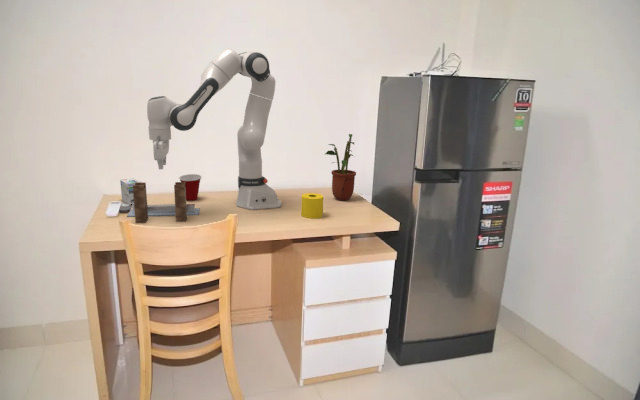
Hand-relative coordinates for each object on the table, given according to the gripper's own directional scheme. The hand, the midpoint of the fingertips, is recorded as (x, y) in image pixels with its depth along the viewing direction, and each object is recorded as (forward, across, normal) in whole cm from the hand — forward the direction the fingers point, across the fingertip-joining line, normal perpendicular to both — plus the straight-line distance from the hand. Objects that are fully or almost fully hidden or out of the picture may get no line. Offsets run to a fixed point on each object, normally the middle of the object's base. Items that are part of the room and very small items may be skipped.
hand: (162, 166), depth 183 cm
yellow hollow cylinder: (+22, -9, -66) cm, 70 cm away
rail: (+21, 0, 0) cm, 21 cm away
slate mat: (+21, 0, 0) cm, 21 cm away
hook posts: (+21, -10, 0) cm, 23 cm away
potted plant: (+23, +17, -86) cm, 90 cm away
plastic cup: (+22, +22, -10) cm, 32 cm away
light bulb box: (+21, +19, +18) cm, 33 cm away
